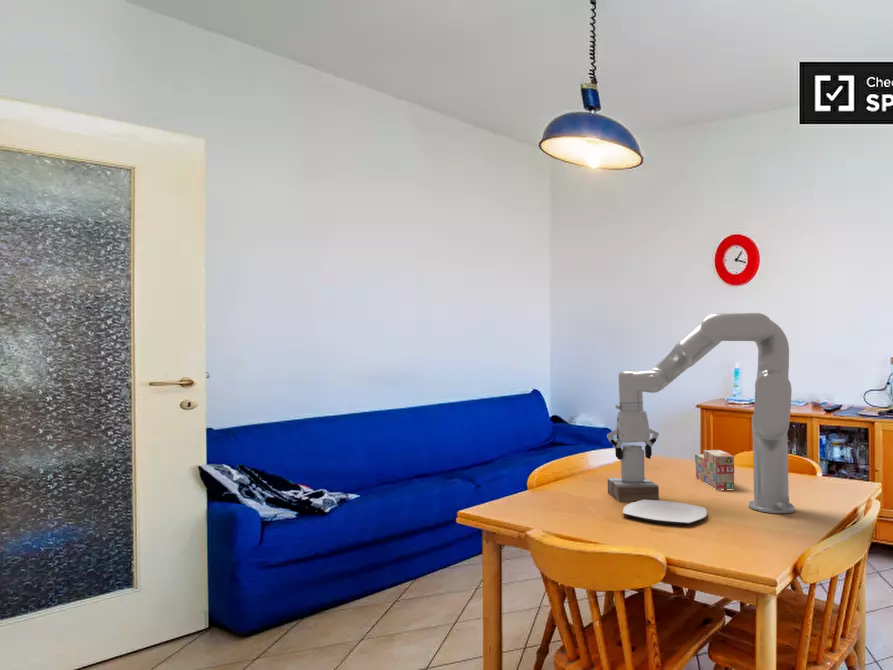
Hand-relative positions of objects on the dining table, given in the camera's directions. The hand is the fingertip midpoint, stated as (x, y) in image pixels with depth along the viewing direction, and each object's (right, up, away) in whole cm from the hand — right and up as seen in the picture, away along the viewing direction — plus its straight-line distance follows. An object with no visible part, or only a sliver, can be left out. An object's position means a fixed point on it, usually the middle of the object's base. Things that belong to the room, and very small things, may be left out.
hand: (633, 458), depth 210 cm
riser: (0, -13, 0) cm, 13 cm away
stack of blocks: (+34, -13, +17) cm, 41 cm away
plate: (+2, -13, -23) cm, 27 cm away
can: (0, -8, 0) cm, 8 cm away
